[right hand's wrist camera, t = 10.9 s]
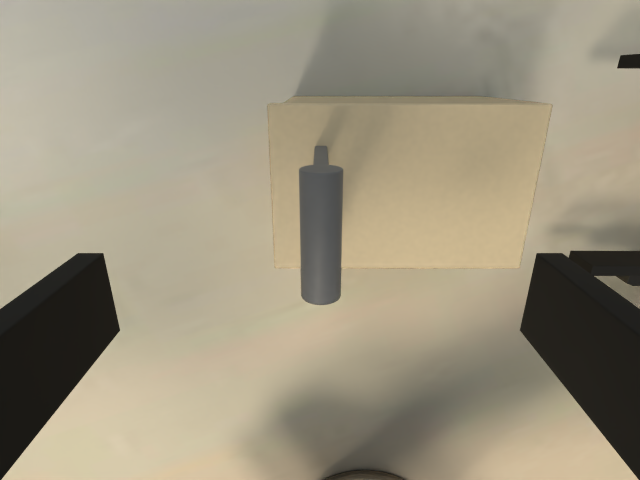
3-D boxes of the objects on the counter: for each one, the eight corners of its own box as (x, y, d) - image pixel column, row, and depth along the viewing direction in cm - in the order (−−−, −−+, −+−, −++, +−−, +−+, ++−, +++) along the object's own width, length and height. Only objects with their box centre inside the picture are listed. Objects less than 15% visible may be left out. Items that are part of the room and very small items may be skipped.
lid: (276, 262, 26) (256, 345, 18) (269, 102, 22) (239, 116, 14) (513, 262, 26) (600, 345, 18) (544, 103, 22) (671, 116, 14)
